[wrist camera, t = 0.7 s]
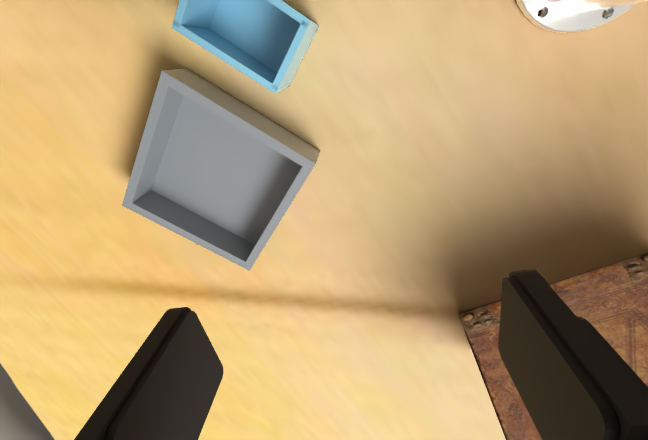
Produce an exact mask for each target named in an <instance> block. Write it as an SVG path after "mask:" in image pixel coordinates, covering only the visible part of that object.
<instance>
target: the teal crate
mask: <svg viewBox="0 0 648 440" xmlns="http://www.w3.org/2000/svg"><path fill="white" fill-rule="evenodd" d="M318 27H319V26H318V25H317V24H315V23H314V22H312V21H311V20H309V19H308V18H307V17H305V16H304V15H302V14H301V13H299V12H298V11H297V10H295V9H294V8H292V7H291V6H289V5H288V4H287V3H285V2H284V1H282V0H180V1H179V5H178V8H177V11H176V15H175V18H174V22H173V25H172V28H173V29H175V30H176V31H178V32H179V33H181V34H182V35H184V36H186V37H187V38H189V39H190V40H192V41H193V42H195V43H197V44H198V45H200V46H201V47H203V48H204V49H206V50H208V51H209V52H211V53H212V54H214V55H215V56H217V57H219V58H220V59H222V60H223V61H225V62H226V63H228V64H230V65H231V66H233V67H234V68H236V69H237V70H239V71H241V72H242V73H244V74H245V75H247V76H248V77H250V78H252V79H253V80H255V81H256V82H258V83H259V84H261V85H263V86H264V87H266V88H267V89H269V90H270V91H272V92H274V93H275V94H276V93H278V92H280V91H281V90H283V89H285V88H287V87H289V85H290V83H291V81H292V79H293V77H294V75H295V73H296V71H297V69H298V67H299V65H300V63H301V61H302V59H303V57H304V55H305V53H306V51H307V49H308V47H309V45H310V43H311V41H312V39H313V37H314V35H315V33H316V31H317V29H318Z"/></svg>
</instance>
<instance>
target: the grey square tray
mask: <svg viewBox="0 0 648 440" xmlns="http://www.w3.org/2000/svg"><path fill="white" fill-rule="evenodd" d="M319 152H320V150H319V149H317V148H315V147H314V146H312V145H310V144H309V143H307V142H306V141H304V140H302V139H301V138H299V137H298V136H296V135H294V134H293V133H291V132H289V131H288V130H286V129H285V128H283V127H281V126H280V125H278V124H276V123H275V122H273V121H272V120H270V119H268V118H267V117H265V116H264V115H262V114H260V113H259V112H257V111H255V110H254V109H252V108H251V107H249V106H247V105H246V104H244V103H242V102H241V101H239V100H238V99H236V98H234V97H233V96H231V95H229V94H228V93H226V92H225V91H223V90H221V89H220V88H218V87H217V86H215V85H213V84H212V83H210V82H208V81H207V80H205V79H204V78H202V77H200V76H199V75H197V74H195V73H194V72H192V71H191V70H189V69H187V68H182V69H173V70H163V71H162V72H161V75H160V78H159V82H158V85H157V88H156V92H155V95H154V99H153V102H152V105H151V109H150V112H149V116H148V119H147V122H146V126H145V129H144V133H143V136H142V139H141V143H140V146H139V149H138V153H137V156H136V160H135V163H134V166H133V170H132V173H131V177H130V180H129V183H128V187H127V190H126V194H125V197H124V200H123V204H122V206H124V207H126V208H128V209H130V210H132V211H134V212H136V213H138V214H140V215H142V216H144V217H146V218H148V219H150V220H152V221H154V222H156V223H158V224H159V225H161V226H163V227H165V228H167V229H169V230H171V231H173V232H175V233H177V234H179V235H181V236H183V237H185V238H187V239H189V240H191V241H193V242H195V243H197V244H199V245H200V246H202V247H204V248H206V249H208V250H210V251H212V252H214V253H216V254H218V255H220V256H222V257H224V258H226V259H228V260H230V261H232V262H234V263H236V264H238V265H239V266H241V267H243V268H245V269H247V270H249V271H250V269H251V268H252V266H253V264H254V263H255V261H256V259H257V258H258V256H259V255H260V253H261V251H262V250H263V248H264V246H265V245H266V243H267V242H268V240H269V238H270V237H271V235H272V233H273V232H274V230H275V229H276V227H277V225H278V224H279V222H280V220H281V219H282V217H283V216H284V214H285V212H286V211H287V209H288V207H289V206H290V204H291V203H292V201H293V199H294V198H295V196H296V194H297V193H298V191H299V190H300V188H301V186H302V185H303V183H304V181H305V180H306V178H307V177H308V175H309V173H310V172H311V170H312V169H313V167H314V165H315V164H316V161H317V158H318V155H319Z"/></svg>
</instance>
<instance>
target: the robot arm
mask: <svg viewBox="0 0 648 440" xmlns="http://www.w3.org/2000/svg"><path fill="white" fill-rule="evenodd" d="M645 1H648V0H516V2H517V5H518V6H519V8H520V9H521V11H522V13H523V14H524V16H525V17H526V18H528V19H529V20H530V21H531V22H532V23H533V24H534V25H536V26H538V27H540V28H542V29H544V30H547V31H551V32H555V33H573V32H582V31H586V30H589V29H593V28H596V27H599V26H601V25H604V24H606V23H608V22H610V21H612V20H614V19H615V18H617V17H618V16H620V15H621V14H623V13H624V12H626V11H627V10H629V9H630V8H631V7H632V6H633V5H635V4H636V3H639V2H645ZM539 10H540V11H541V14H540V15H539V16H538V11H539ZM603 12H604V13H603ZM602 14H603V16H602ZM498 349H499V353H500V356H501V359H502V361H503V363H504V365H505V367H506V369H507V371H508V373H509V375H510V377H511V379H512V381H513V383H514V385H515V387H516V389H517V391H518V393H519V395H520V397H521V399H522V401H523V403H524V405H525V407H526V409H527V411H528V413H529V415H530V417H531V419H532V420H533V422H534V424H535V426H536V428H537V430H538V432H539V434H540V436H541V438H542V440H648V386H647V385H646V384H645V383H644V382H643V381H642V380H641V379H640V378H639V376H638V375H637V374H636V373H635V372H634V371H633V370H632V369H631V368H630V366H629V365H628V364H627V363H626V362H625V361H624V360H623V359H622V358H621V356H620V355H619V354H618V353H617V352H616V351H615V350H614V349H613V348H612V346H611V345H610V344H609V343H608V342H607V341H606V340H605V339H604V338H603V336H602V335H601V334H600V333H599V332H598V331H597V330H596V329H595V328H594V326H593V325H592V324H591V323H590V322H588V321H587V320H586V319H584V318H582V317H577V316H576V315H575V314H574V313H573V312H572V311H571V309H570V308H569V307H568V306H567V305H566V304H565V303H564V301H563V300H562V299H561V298H560V297H559V296H558V295H557V293H556V292H555V291H554V290H553V289H552V288H551V287H550V285H549V284H548V283H547V282H546V281H545V280H544V278H543V277H542V276H541V275H540V274H539V273H538V272H537V271H536V270H525V271H516V272H511V273H510V274H509V278H504V279H503V285H502V299H501V312H500V326H499V340H498ZM222 377H223V366H222V364H221V362H220V360H219V358H218V356H217V354H216V352H215V350H214V348H213V346H212V344H211V342H210V340H209V338H208V336H207V334H206V332H205V330H204V328H203V327H202V325H201V323H200V321H199V319H198V317H197V315H196V313H195V312H194V311H191V309H190V308H188V307H182V308H173V309H169V310H167V311H166V312H165V314H164V315H163V316H162V318H161V319H160V321H159V322H158V323H157V325H156V326H155V328H154V329H153V330H152V332H151V333H150V335H149V336H148V337H147V339H146V340H145V342H144V343H143V344H142V346H141V347H140V349H139V350H138V351H137V353H136V354H135V356H134V357H133V358H132V360H131V361H130V363H129V364H128V365H127V367H126V368H125V369H124V371H123V372H122V374H121V375H120V376H119V378H118V379H117V381H116V382H115V383H114V385H113V386H112V388H111V389H110V390H109V392H108V393H107V395H106V396H105V397H104V399H103V400H102V402H101V403H100V404H99V406H98V407H97V409H96V410H95V411H94V413H93V414H92V416H91V417H90V418H89V420H88V421H87V423H86V424H85V425H84V427H83V428H82V429H81V431H80V432H79V434H78V435H77V436H76V438H75V439H74V440H198V438H199V435H200V433H201V430H202V428H203V425H204V423H205V420H206V418H207V415H208V412H209V410H210V407H211V405H212V402H213V400H214V397H215V395H216V392H217V390H218V387H219V385H220V382H221V380H222Z"/></svg>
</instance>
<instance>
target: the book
mask: <svg viewBox="0 0 648 440" xmlns="http://www.w3.org/2000/svg"><path fill="white" fill-rule="evenodd" d="M550 287H551V288H552V289H553V290H554V291H555V292H556V293H557V295H558V296H559V297H560V298H561V299H562V300H563V301H564V303H565V304H566V305H567V306H568V307H569V308H570V309H571V311H572V312H573V313H574V314H575V315H576V316H577V317H582V318H584V319H586V320H587V321H588V322H590V323H591V324H592V325H593V326H594V328H595V329H596V330H597V331H598V332H599V333H600V334H601V335H602V336H603V338H604V339H605V340H606V341H607V342H608V343H609V344H610V345H611V346H612V348H613V349H614V350H615V351H616V352H617V353H618V354H619V355H620V356H621V358H622V359H623V360H624V361H625V362H626V363H627V364H628V365H629V366H630V368H631V369H632V370H633V371H634V372H635V373H636V374H637V375H638V376H639V378H640V379H641V380H642V381H643V382H644V383H645V384H646V385H647V386H648V253H646V254H643V255H640V256H636V257H633V258H630V259H627V260H624V261H621V262H618V263H615V264H612V265H609V266H605V267H602V268H599V269H596V270H593V271H590V272H587V273H584V274H581V275H578V276H574V277H571V278H568V279H565V280H562V281H559V282H556V283H553V284H550ZM500 312H501V300H500V301H497V302H494V303H491V304H488V305H485V306H481V307H478V308H475V309H472V310H469V311H466V312H463V313H460V314H459V318H460V320H461V323H462V325H463V328H464V331H465V333H466V336H467V339H468V341H469V344H470V346H471V349H472V352H473V354H474V357H475V360H476V362H477V365H478V367H479V370H480V373H481V375H482V378H483V380H484V383H485V386H486V388H487V391H488V394H489V396H490V399H491V401H492V404H493V407H494V409H495V412H496V415H497V417H498V420H499V422H500V425H501V428H502V430H503V433H504V435H505V438H506V440H542V438H541V436H540V434H539V432H538V430H537V428H536V426H535V424H534V422H533V420H532V419H531V417H530V415H529V413H528V411H527V409H526V407H525V405H524V403H523V401H522V399H521V397H520V395H519V393H518V391H517V389H516V387H515V385H514V383H513V381H512V379H511V377H510V375H509V373H508V371H507V369H506V367H505V365H504V363H503V361H502V359H501V356H500V353H499V349H498V340H499V326H500Z"/></svg>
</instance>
